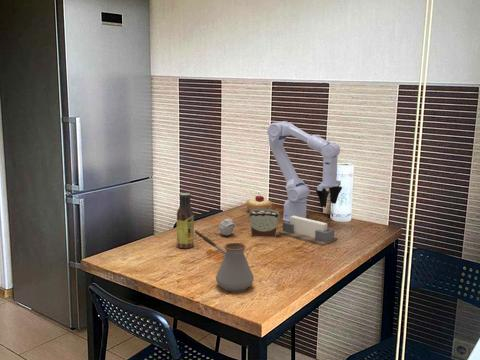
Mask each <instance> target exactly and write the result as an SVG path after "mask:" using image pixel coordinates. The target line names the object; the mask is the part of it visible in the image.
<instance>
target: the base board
mask: <svg viewBox="0 0 480 360" xmlns="http://www.w3.org/2000/svg"><path fill="white" fill-rule="evenodd" d="M278 234H279V235H281V236H286V237H289V238H293V239H297V240H301V241H304V242H308V243H311V244H316V245H318V246H326V245H327V244H330V243H332V242H335V241H337V240H338V237H336V236H334V239H332V240H330V241H327V242H322V241H319V240H315V238H314V237H310V236H306V235H302V234H298V233H295V232H293V233H288V232H285V231H283V230H280V231H279V232H278Z"/></svg>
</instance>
